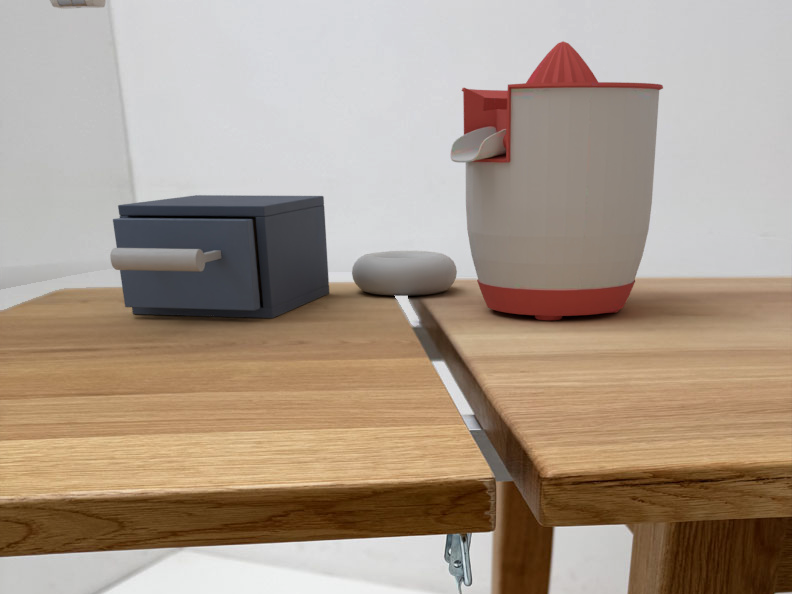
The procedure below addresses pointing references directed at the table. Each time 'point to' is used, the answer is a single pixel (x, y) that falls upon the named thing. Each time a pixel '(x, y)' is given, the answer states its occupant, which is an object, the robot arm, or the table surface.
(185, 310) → the cabinet
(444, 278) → the donut
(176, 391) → the table surface
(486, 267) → the citrus juicer
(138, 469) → the table surface
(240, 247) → the drawer
